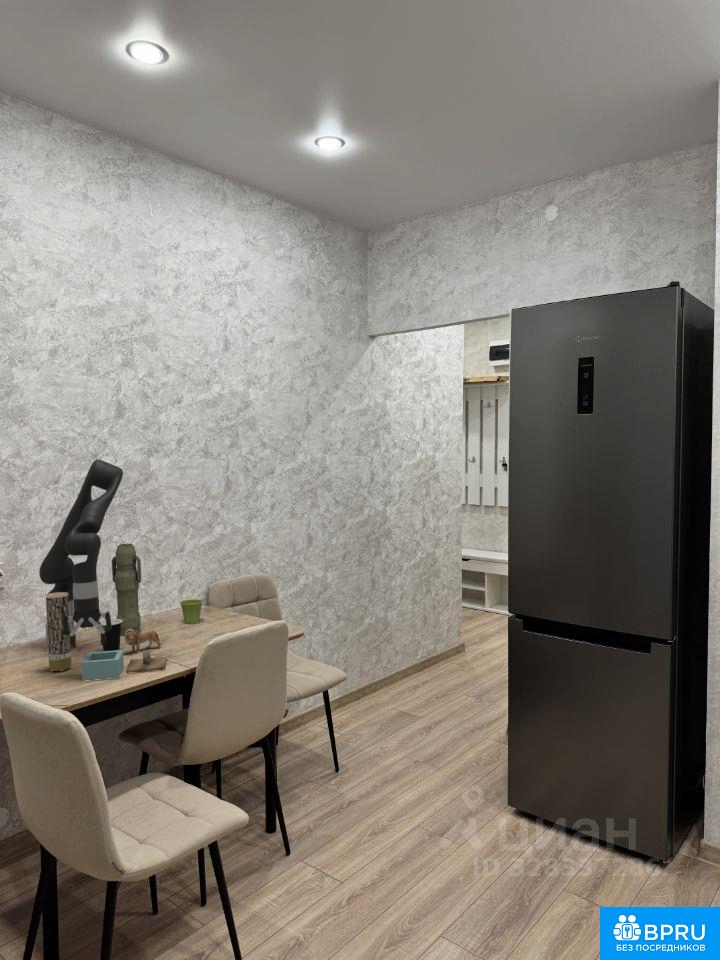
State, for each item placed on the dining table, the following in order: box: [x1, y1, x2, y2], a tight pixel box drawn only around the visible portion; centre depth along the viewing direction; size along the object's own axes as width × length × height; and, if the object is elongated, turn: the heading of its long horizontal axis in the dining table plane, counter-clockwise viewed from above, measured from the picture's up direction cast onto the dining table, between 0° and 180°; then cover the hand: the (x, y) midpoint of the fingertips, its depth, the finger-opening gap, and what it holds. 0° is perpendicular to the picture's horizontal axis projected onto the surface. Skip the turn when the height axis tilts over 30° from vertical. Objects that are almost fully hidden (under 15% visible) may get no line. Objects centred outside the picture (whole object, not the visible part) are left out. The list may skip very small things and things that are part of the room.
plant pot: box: [179, 598, 204, 624], centre depth 291 cm, size 9×9×9 cm
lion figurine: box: [123, 629, 162, 654], centre depth 252 cm, size 15×5×9 cm, turn 142°
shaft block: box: [125, 651, 168, 674], centre depth 233 cm, size 12×12×4 cm
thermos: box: [111, 543, 142, 637], centre depth 276 cm, size 9×12×35 cm
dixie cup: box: [99, 618, 122, 652], centre depth 251 cm, size 8×8×11 cm
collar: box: [81, 649, 125, 682], centre depth 225 cm, size 11×11×6 cm
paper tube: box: [45, 592, 72, 672], centre depth 232 cm, size 7×7×25 cm
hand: (88, 645), depth 224 cm, fingers open, 8 cm apart
